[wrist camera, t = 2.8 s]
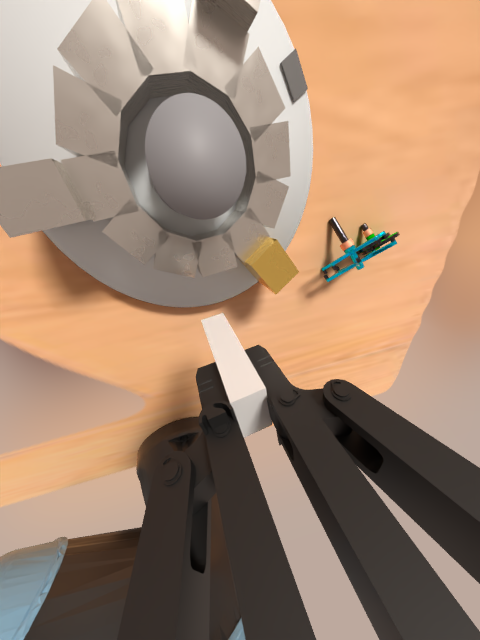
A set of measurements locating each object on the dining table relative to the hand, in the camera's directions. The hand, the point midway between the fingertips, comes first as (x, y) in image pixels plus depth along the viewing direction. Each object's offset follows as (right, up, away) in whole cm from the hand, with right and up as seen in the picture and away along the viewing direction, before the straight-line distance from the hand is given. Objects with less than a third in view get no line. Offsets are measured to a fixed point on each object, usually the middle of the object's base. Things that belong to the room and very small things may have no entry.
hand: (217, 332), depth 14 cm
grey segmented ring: (-1, +12, +4) cm, 12 cm away
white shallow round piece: (-3, +14, +4) cm, 15 cm away
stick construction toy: (+16, +12, +13) cm, 24 cm away
